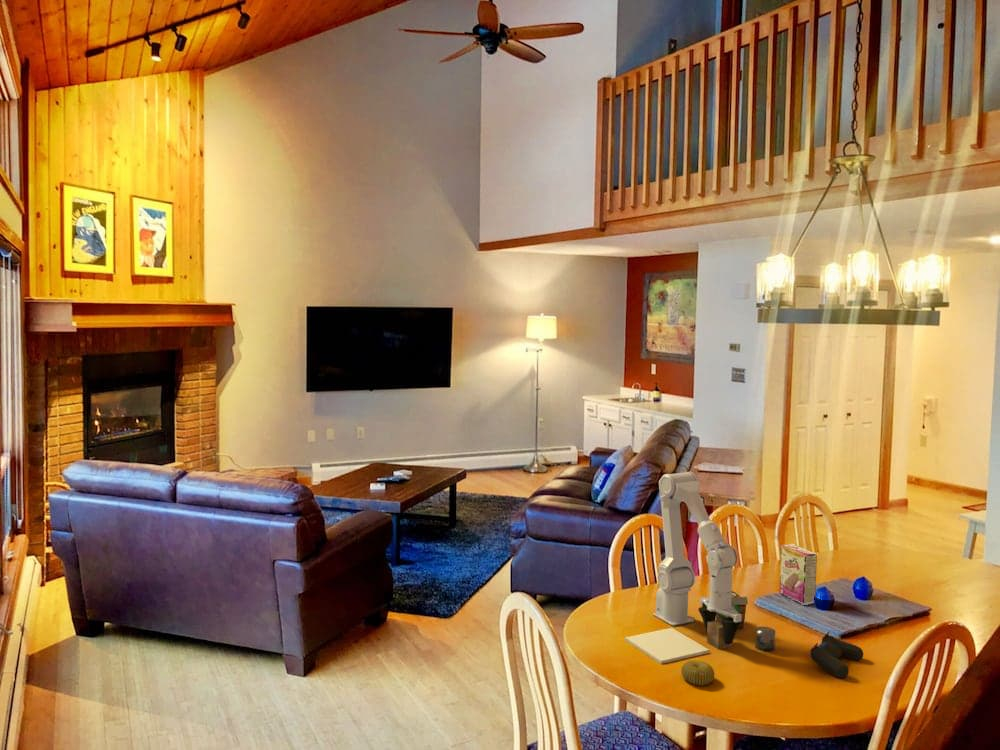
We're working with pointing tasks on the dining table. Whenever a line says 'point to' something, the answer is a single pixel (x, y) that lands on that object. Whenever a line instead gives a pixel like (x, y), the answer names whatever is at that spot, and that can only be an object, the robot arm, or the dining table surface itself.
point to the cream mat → (666, 645)
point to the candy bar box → (798, 573)
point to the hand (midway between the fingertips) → (719, 638)
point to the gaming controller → (835, 655)
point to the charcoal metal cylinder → (765, 639)
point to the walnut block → (716, 634)
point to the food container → (736, 608)
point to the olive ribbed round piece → (697, 672)
